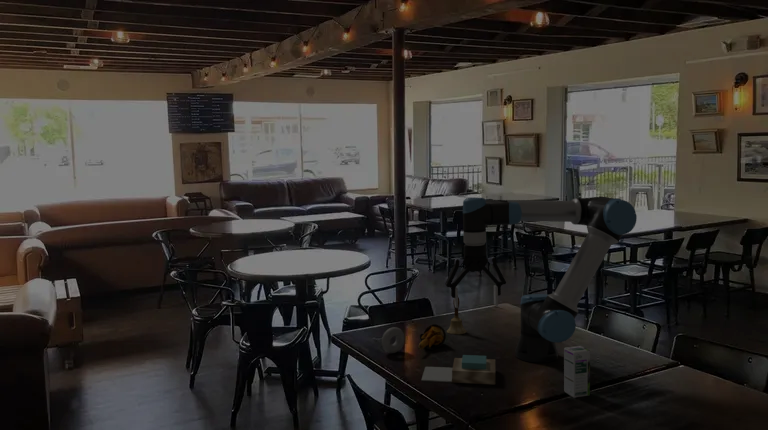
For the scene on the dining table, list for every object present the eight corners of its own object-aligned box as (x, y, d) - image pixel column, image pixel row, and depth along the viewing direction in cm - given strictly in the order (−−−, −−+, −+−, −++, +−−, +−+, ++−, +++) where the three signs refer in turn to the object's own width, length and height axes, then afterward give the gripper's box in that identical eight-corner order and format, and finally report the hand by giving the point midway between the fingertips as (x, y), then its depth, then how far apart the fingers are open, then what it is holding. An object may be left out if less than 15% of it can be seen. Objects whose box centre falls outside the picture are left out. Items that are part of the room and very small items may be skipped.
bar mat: (454, 368, 221) (454, 367, 221) (451, 382, 208) (451, 381, 208) (425, 367, 223) (425, 366, 223) (421, 380, 210) (421, 379, 210)
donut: (385, 356, 235) (384, 330, 234) (379, 354, 238) (379, 328, 237) (406, 351, 241) (406, 326, 240) (401, 349, 244) (400, 324, 243)
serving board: (495, 370, 219) (495, 359, 218) (495, 384, 206) (495, 372, 205) (454, 368, 221) (454, 357, 221) (452, 382, 208) (452, 370, 208)
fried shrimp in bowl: (451, 331, 251) (444, 329, 234) (439, 356, 250) (431, 356, 233) (431, 320, 254) (422, 317, 237) (419, 346, 253) (409, 344, 236)
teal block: (486, 361, 216) (486, 355, 216) (486, 369, 208) (486, 363, 208) (462, 360, 218) (462, 354, 217) (461, 368, 210) (461, 362, 210)
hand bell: (443, 330, 269) (443, 293, 267) (461, 328, 271) (461, 291, 270) (451, 335, 261) (451, 297, 259) (469, 333, 263) (469, 296, 262)
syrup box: (573, 398, 194) (574, 352, 192) (563, 391, 199) (563, 346, 198) (590, 396, 195) (591, 350, 194) (579, 389, 201) (579, 344, 199)
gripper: (508, 240, 216) (509, 301, 218) (436, 243, 215) (437, 305, 217) (514, 243, 209) (515, 306, 211) (439, 247, 207) (441, 310, 209)
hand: (476, 306), depth 214 cm, fingers open, 13 cm apart
